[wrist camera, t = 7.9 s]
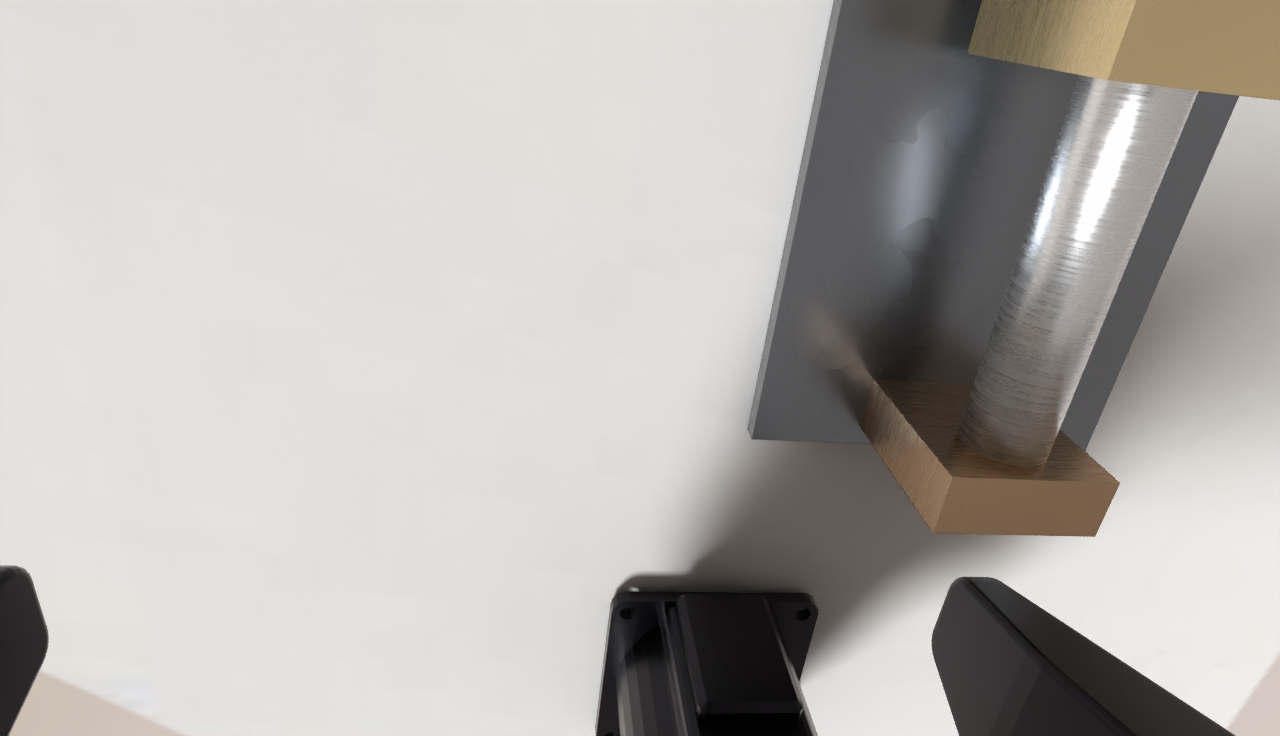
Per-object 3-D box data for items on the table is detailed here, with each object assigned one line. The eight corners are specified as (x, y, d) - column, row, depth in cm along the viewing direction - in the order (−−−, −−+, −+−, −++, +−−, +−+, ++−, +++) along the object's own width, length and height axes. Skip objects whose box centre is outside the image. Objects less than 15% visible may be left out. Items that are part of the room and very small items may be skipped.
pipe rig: (1073, 442, 23) (1200, 555, 18) (747, 429, 21) (799, 548, 17) (1538, -653, 13) (2041, -970, 9) (997, -812, 12) (1271, -1289, 7)
